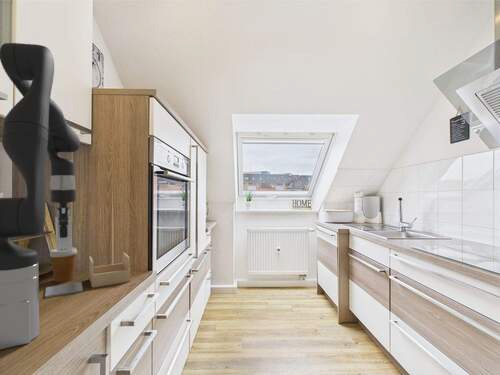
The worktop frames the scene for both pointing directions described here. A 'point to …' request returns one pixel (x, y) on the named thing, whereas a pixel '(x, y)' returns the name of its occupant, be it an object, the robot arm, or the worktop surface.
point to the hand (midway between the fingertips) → (63, 236)
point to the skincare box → (63, 243)
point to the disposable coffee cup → (63, 264)
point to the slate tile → (63, 289)
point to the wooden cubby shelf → (109, 273)
